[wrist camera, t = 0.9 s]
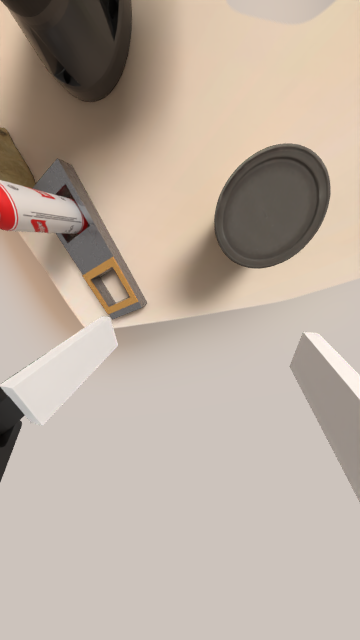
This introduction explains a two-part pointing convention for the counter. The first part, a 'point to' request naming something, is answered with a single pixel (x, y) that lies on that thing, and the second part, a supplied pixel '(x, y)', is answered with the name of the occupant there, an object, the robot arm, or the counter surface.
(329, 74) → the counter surface
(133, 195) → the counter surface
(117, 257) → the grey slotted tray
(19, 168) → the rock
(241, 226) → the coffee can
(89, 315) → the counter surface
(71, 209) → the beer can
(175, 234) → the counter surface
